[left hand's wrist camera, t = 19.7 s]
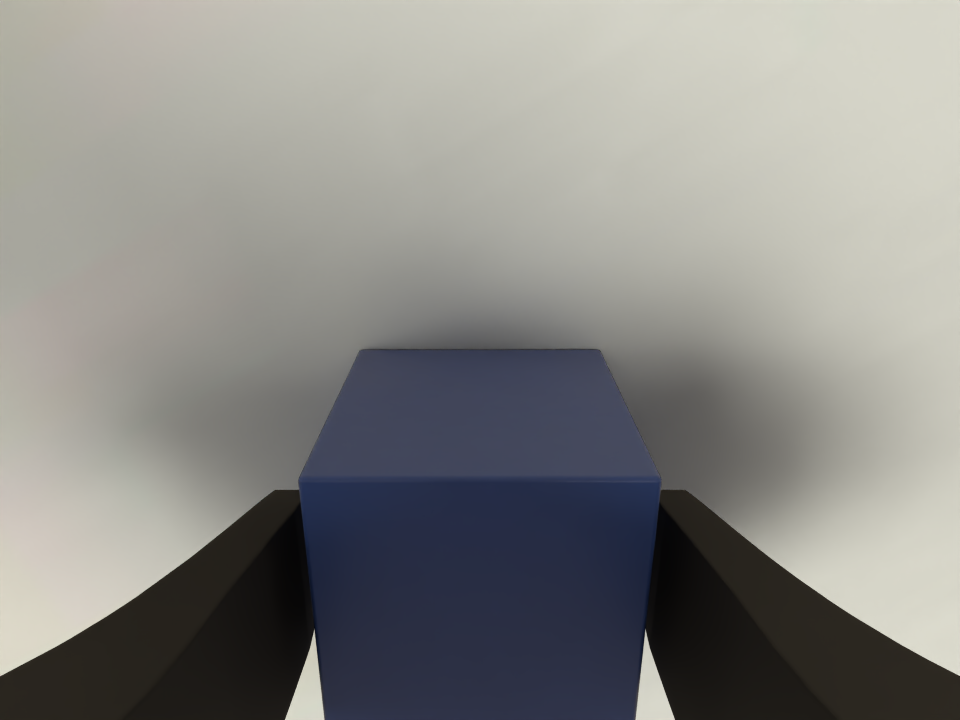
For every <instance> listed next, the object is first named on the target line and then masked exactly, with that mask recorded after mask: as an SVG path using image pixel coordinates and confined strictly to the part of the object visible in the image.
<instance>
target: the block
mask: <svg viewBox="0 0 960 720" xmlns="http://www.w3.org/2000/svg"><path fill="white" fill-rule="evenodd" d="M298 483H299V492H300V501H301V510H302V519H303V528H304V537H305V546H306V556H307V565H308V574H309V583H310V592H311V601H312V610H313V619H314V628H315V637H316V646H317V655H318V665H319V674H320V683H321V692H322V701H323V710H324V719H325V720H635V719H636V710H637V701H638V692H639V683H640V673H641V664H642V655H643V646H644V637H645V628H646V619H647V610H648V601H649V592H650V583H651V573H652V564H653V555H654V546H655V537H656V528H657V519H658V510H659V501H660V492H661V483H662V480H661V477H660V475H659V473H658V471H657V468H656V466H655V464H654V462H653V460H652V458H651V456H650V454H649V452H648V450H647V448H646V446H645V443H644V441H643V439H642V437H641V435H640V433H639V431H638V429H637V427H636V425H635V423H634V421H633V418H632V416H631V414H630V412H629V410H628V408H627V406H626V404H625V402H624V400H623V398H622V396H621V393H620V391H619V389H618V387H617V385H616V383H615V381H614V379H613V377H612V375H611V373H610V370H609V368H608V366H607V364H606V362H605V360H604V358H603V356H602V354H601V352H600V351H599V350H361V351H359V353H358V355H357V357H356V360H355V362H354V364H353V366H352V368H351V370H350V372H349V374H348V376H347V378H346V380H345V383H344V385H343V387H342V389H341V391H340V393H339V395H338V397H337V399H336V401H335V404H334V406H333V408H332V410H331V412H330V414H329V416H328V418H327V420H326V422H325V424H324V427H323V429H322V431H321V433H320V435H319V437H318V439H317V441H316V443H315V445H314V448H313V450H312V452H311V454H310V456H309V458H308V460H307V462H306V464H305V466H304V468H303V471H302V473H301V475H300V477H299V480H298Z"/></svg>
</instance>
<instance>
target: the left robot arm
mask: <svg viewBox="0 0 960 720" xmlns="http://www.w3.org/2000/svg"><path fill="white" fill-rule="evenodd" d="M313 632H314V619H313V610H312V601H311V592H310V583H309V574H308V565H307V556H306V546H305V537H304V528H303V519H302V510H301V501H300V492H299V490H274V491H273V492H272V493H270V494H269V495H268V496H266V497H265V498H264V499H263V500H261V501H260V502H259V503H258V504H256V505H255V506H254V507H253V508H251V509H250V510H249V511H248V512H247V513H245V514H244V515H243V516H242V517H241V518H239V519H238V520H237V521H236V522H234V523H233V524H232V525H231V526H230V527H228V528H227V529H226V530H225V531H223V532H222V533H221V534H220V535H218V536H217V537H216V538H215V539H213V540H212V541H211V542H210V543H208V544H207V545H206V546H205V547H203V548H202V549H201V550H200V551H198V552H197V553H196V554H195V555H193V556H192V557H191V558H190V559H188V560H187V561H185V562H184V563H183V564H181V565H180V566H179V567H177V568H176V569H174V570H173V571H172V572H170V573H169V574H168V575H166V576H165V577H163V578H162V579H161V580H159V581H158V582H157V583H155V584H154V585H152V586H151V587H150V588H148V589H147V590H146V591H144V592H143V593H141V594H140V595H139V596H137V597H136V598H134V599H133V600H131V601H130V602H128V603H127V604H125V605H124V606H122V607H121V608H119V609H118V610H116V611H115V612H113V613H111V614H110V615H108V616H107V617H105V618H104V619H102V620H100V621H99V622H97V623H95V624H94V625H92V626H90V627H89V628H87V629H86V630H84V631H82V632H81V633H79V634H77V635H76V636H74V637H72V638H71V639H69V640H67V641H65V642H64V643H62V644H60V645H58V646H57V647H55V648H53V649H51V650H49V651H47V652H45V653H44V654H42V655H40V656H38V657H36V658H34V659H32V660H30V661H28V662H27V663H25V664H23V665H21V666H19V667H17V668H15V669H13V670H11V671H10V672H8V673H6V674H4V675H2V676H0V720H285V718H286V715H287V712H288V709H289V707H290V704H291V701H292V698H293V695H294V693H295V690H296V687H297V684H298V681H299V678H300V675H301V673H302V670H303V667H304V664H305V661H306V658H307V655H308V652H309V649H310V646H311V641H312V637H313ZM646 633H647V637H648V641H649V646H650V649H651V652H652V655H653V658H654V661H655V664H656V667H657V670H658V673H659V676H660V678H661V681H662V684H663V687H664V690H665V693H666V696H667V698H668V701H669V704H670V707H671V710H672V712H673V715H674V718H675V720H960V676H958V675H956V674H955V673H953V672H951V671H949V670H947V669H945V668H943V667H941V666H939V665H937V664H935V663H933V662H931V661H929V660H927V659H926V658H924V657H922V656H920V655H918V654H916V653H915V652H913V651H911V650H909V649H907V648H906V647H904V646H902V645H900V644H899V643H897V642H895V641H893V640H892V639H890V638H889V637H887V636H885V635H884V634H882V633H880V632H879V631H877V630H875V629H874V628H872V627H870V626H869V625H867V624H865V623H864V622H862V621H860V620H859V619H857V618H855V617H854V616H852V615H851V614H849V613H847V612H846V611H844V610H843V609H841V608H840V607H838V606H837V605H835V604H834V603H832V602H831V601H829V600H828V599H826V598H825V597H823V596H822V595H821V594H819V593H818V592H816V591H815V590H813V589H812V588H811V587H809V586H808V585H806V584H805V583H803V582H802V581H801V580H799V579H798V578H796V577H795V576H794V575H792V574H791V573H790V572H788V571H787V570H786V569H784V568H783V567H781V566H780V565H779V564H777V563H776V562H775V561H774V560H772V559H771V558H770V557H768V556H767V555H766V554H764V553H763V552H762V551H761V550H759V549H758V548H757V547H756V546H754V545H753V544H752V543H750V542H749V541H748V540H747V539H746V538H744V537H743V536H742V535H741V534H739V533H738V532H737V531H736V530H734V529H733V528H732V527H731V526H730V525H728V524H727V523H726V522H725V521H723V520H722V519H721V518H720V517H719V516H717V515H716V514H715V513H714V512H713V511H711V510H710V509H709V508H708V507H706V506H705V505H704V504H703V503H702V502H700V501H699V500H698V499H697V498H695V497H694V496H693V495H691V494H690V493H689V492H687V491H686V490H661V492H660V501H659V510H658V519H657V528H656V537H655V546H654V555H653V564H652V573H651V583H650V592H649V601H648V610H647V619H646Z"/></svg>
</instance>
